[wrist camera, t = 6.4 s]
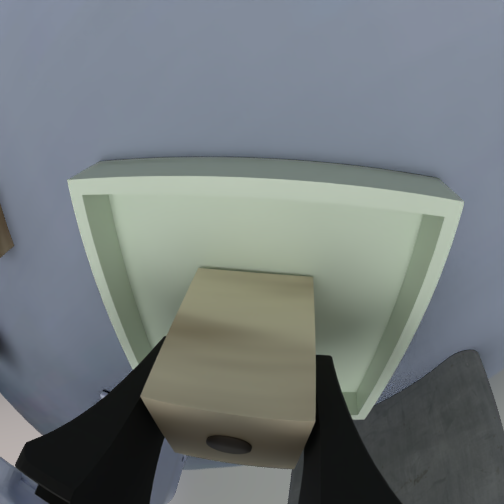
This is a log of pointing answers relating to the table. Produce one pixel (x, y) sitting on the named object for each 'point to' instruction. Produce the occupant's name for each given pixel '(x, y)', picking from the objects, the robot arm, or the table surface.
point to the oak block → (4, 235)
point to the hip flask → (436, 438)
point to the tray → (271, 248)
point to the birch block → (238, 370)
